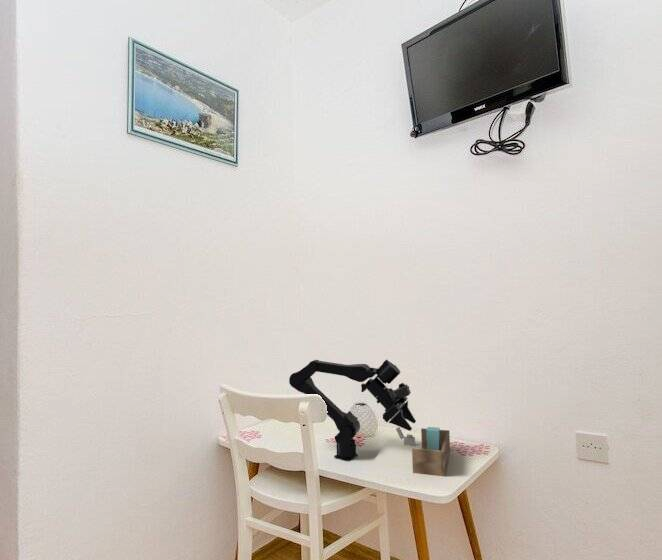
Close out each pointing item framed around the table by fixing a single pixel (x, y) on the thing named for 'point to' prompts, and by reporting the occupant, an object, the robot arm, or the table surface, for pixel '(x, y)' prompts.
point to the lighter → (406, 438)
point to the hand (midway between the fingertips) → (413, 426)
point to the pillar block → (433, 438)
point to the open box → (432, 456)
